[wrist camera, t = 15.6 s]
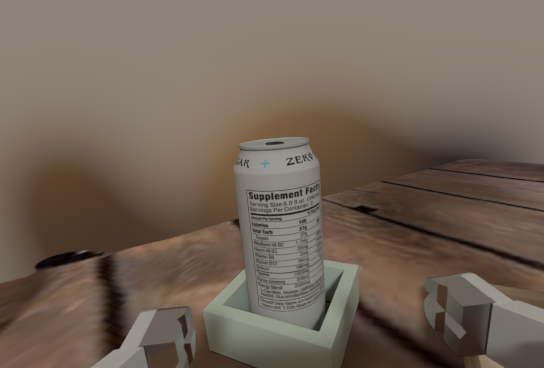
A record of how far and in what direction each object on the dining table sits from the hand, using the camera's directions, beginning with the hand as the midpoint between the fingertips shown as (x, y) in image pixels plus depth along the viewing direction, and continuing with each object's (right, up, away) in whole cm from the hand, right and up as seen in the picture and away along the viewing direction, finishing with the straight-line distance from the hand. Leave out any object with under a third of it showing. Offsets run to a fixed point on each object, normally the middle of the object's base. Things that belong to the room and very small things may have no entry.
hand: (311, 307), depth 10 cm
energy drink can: (0, -8, +13) cm, 15 cm away
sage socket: (0, -7, +13) cm, 15 cm away
